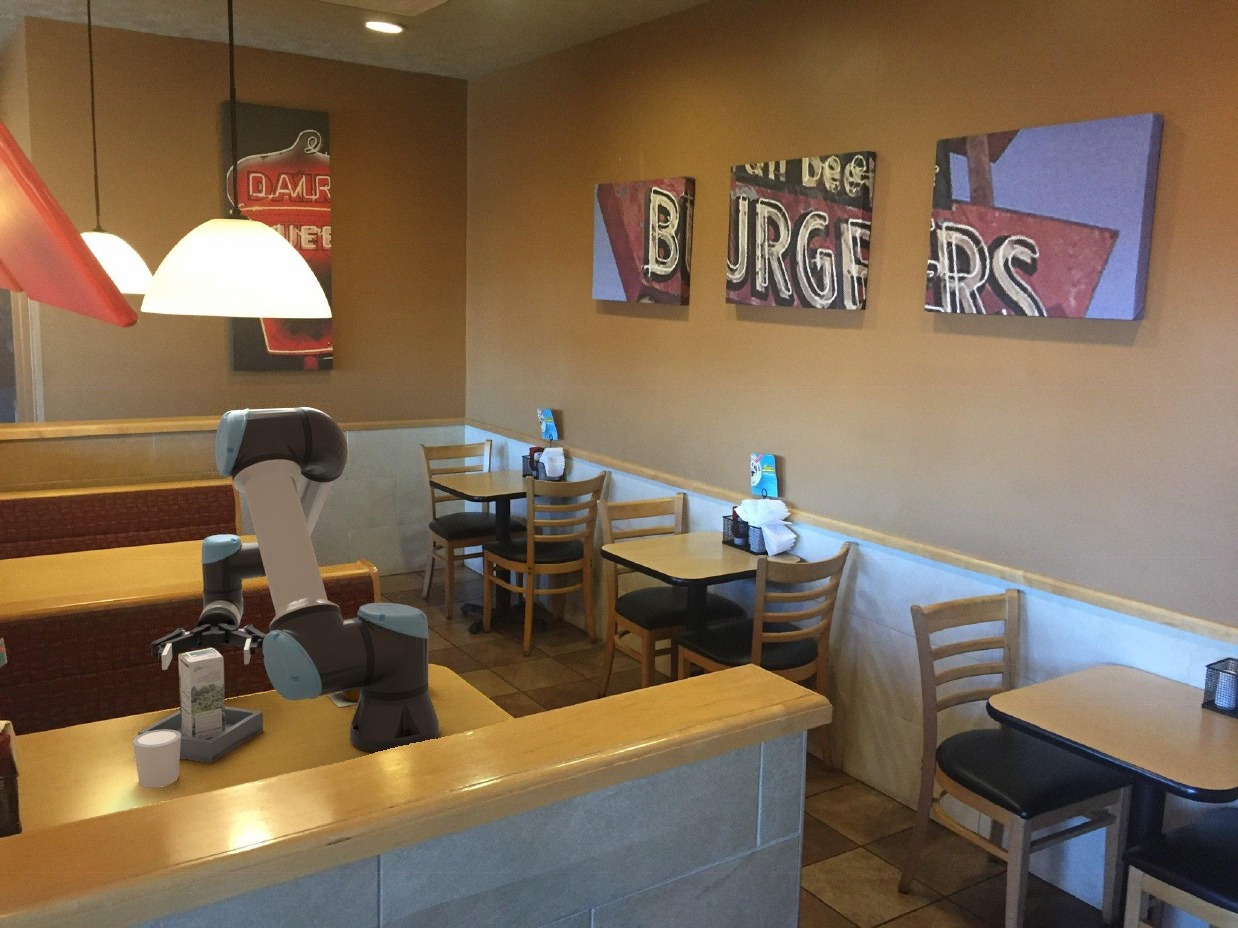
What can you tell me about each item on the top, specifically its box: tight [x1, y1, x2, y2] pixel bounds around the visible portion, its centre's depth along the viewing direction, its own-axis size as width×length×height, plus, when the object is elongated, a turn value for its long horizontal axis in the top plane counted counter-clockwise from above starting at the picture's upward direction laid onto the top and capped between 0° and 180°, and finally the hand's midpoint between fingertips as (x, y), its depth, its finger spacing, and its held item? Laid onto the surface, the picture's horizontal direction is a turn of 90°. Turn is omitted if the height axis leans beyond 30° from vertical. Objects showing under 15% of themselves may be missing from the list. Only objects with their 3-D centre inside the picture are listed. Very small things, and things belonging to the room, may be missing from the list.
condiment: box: [327, 688, 360, 708], centre depth 193 cm, size 7×8×12 cm
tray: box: [137, 706, 264, 764], centre depth 173 cm, size 14×14×4 cm
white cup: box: [132, 729, 181, 789], centre depth 158 cm, size 7×7×7 cm
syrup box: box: [177, 647, 226, 740], centre depth 172 cm, size 6×6×14 cm
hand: (205, 659), depth 179 cm, fingers open, 13 cm apart
